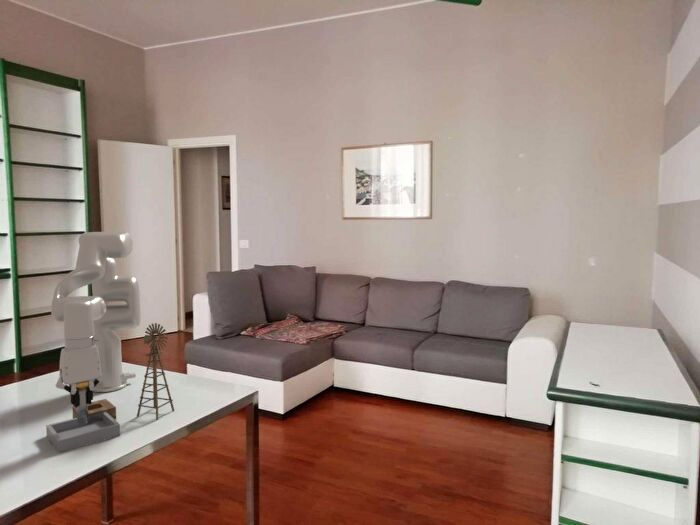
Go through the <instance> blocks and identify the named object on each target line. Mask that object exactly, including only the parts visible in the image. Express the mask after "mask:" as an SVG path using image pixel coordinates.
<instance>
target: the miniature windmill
mask: <svg viewBox="0 0 700 525" xmlns="http://www.w3.org/2000/svg"><path fill="white" fill-rule="evenodd" d="M163 328H164V326H163V325H161V324H160V323H155V322H154V323H151V324H149V325H148V327H146V330H145V335H144V337H143V344H144V345H145V344H147V345H149V348H150V352H149V353H145V354H144V355H145V356H146V357H148V360H146V362H147V366H146V372H145V374H144V375H143V376H144V379H143V380H144V381H143V385H142V388H141V393H140V396H139V404H137V406H138V410H137V414H136V417H137V418H138V417H139V416H140V413H141V408H142V407H144V408H148V409H155V420H156V421H157V420H159V409H160V408H161V407H164V406H165V405H167V404H170V407H171V411H172V412H174V411H175V408H174V407H175V406H174V403H173V401H174V400H173V399H172V396H171V393H170V388H169V385H168V381H167V379H166V372H165V371H164V367H163V364H162V362H163V361H162V359H161V356H160V355H162V354H164V353H165V351H164V350H163V349H164V347H166V346H167V345H166V344H168V341H167V340H168V339H169V338H168V333H167V332H166V331H167V330H166V329H165V328H164V329H163ZM157 338H158V339H157ZM165 339H166V340H165ZM165 343H166V344H165ZM161 350H163V351H161ZM157 357H158V359H157ZM150 364H152V368H151V367H150ZM157 364H159V366H160V370H161V371H158V366H157ZM149 370H151V372H149ZM151 374H152V376H149V375H151ZM161 376H162V377H163V380H164V383H163V384H161V383H158V377H161ZM148 379H152V383H147V380H148ZM158 386H163V387H161V388H158ZM149 387H152V389H153V391H152V390H145V389H147V388H149ZM164 389H166V393H167V397H168V398H164V397H159V396H158V392H160V391H161V390H164ZM144 393H151V394H153V396H152V398H151V397H145V396H144V395H145V394H144ZM143 399H144V400H145V401H144V402H143ZM158 400H164V401H167V402H164V403H163V404H161V405H159V403H158V402H159V401H158ZM150 401H153V406H150V405H143V404H146V403H148V402H150Z"/></svg>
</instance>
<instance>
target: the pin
mask: <svg viewBox="0 0 700 525" xmlns="http://www.w3.org/2000/svg"><path fill="white" fill-rule="evenodd" d="M88 386H89V381H85V382H80V383H76V392H77V394H78V407H77V424H78V425H84V424H87V423H88V400H87V387H88Z"/></svg>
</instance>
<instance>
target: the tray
mask: <svg viewBox="0 0 700 525" xmlns="http://www.w3.org/2000/svg"><path fill="white" fill-rule="evenodd" d="M94 416H95V417H96V418H97V417H99V418H100V420H102V421H100V420H99V419H98V418H97V420H98V421H96V420H94V419H96V418H94V417H93V416H92V418H93V420H94V421H93V422H92V423H90V422H89V419H88V422H89V423H90V424H87V425H85V424H84V425H78V424H77V418H74V419H73V418H70V419H65V420H62V421H59V422H55V423H54V422H53V423H50V424H46V425H45V426H46V428H45V429H46V437H47V438H48V440H49V442H50V443H51V445H52V446H53V447H54V448H55V450H56V452H57V453H62V452H65V451H69V450H70V451H71V450H73V449H77V448H80V447H83V445H84V446H87V445H86V444H88V445H91V444H94V443H93V442H95V443H97V441H98V442H102V441H104V439H105V440H108V438H109V439H113V438H115V437H119V436H121V424H120V423H119V422H118V421H117V419H116V420H114V419H113V418H112V417H111V416H110V415H109V414H108V413H107V412H103V413H99V416H98V414H95V415H94ZM90 417H91V416H88V418H90ZM102 418H103V419H102ZM90 420H91V419H90ZM101 440H102V441H101ZM90 443H91V444H90ZM79 446H80V447H79ZM76 447H77V448H76Z"/></svg>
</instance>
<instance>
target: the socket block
mask: <svg viewBox="0 0 700 525" xmlns="http://www.w3.org/2000/svg"><path fill="white" fill-rule="evenodd" d="M71 410H72V419H74V418H77V407H76V408H75V407H74V406H73V405H72V407H71ZM103 412H107V413H108V414H109V415H110V416H111V417H112V418H113V419H114V420H115V419H116V420H117V407H116V405H114V404H113V403H112V402H111V401H109V400H108V399H107V398H104V399H99V400H94V401H91V404H88V416H91V417H90V418H88V419H89V422H90V423H92V422H93V421H94V420H96V421H98V420H97V418H98V419H99V420H100V418H99V417H97V418H96V417H95V416H94V415H95V414H98V416H99V413H103ZM92 416H93V417H94V418H96V419H94V420H93V418H92ZM90 419H91V420H90ZM102 419H103V418H102ZM100 421H102V420H100ZM89 422H88V423H87V424H90V423H89ZM87 424H85V425H87Z"/></svg>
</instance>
